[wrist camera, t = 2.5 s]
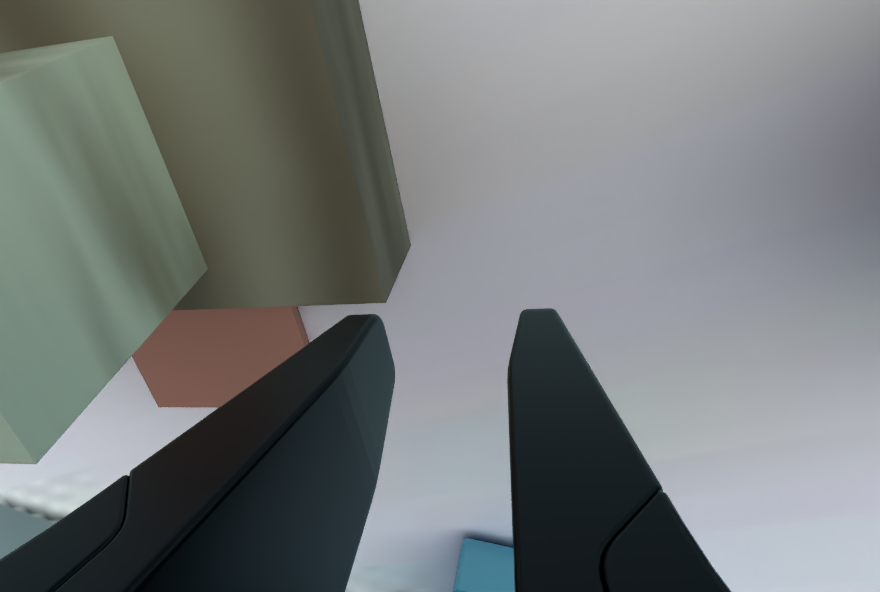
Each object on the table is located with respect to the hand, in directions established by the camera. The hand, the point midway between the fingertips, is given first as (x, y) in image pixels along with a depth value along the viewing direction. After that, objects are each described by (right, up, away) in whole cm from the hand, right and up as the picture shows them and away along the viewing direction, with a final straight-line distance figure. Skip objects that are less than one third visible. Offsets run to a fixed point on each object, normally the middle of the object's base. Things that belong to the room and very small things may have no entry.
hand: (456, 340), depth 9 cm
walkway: (-13, +6, +15) cm, 20 cm away
